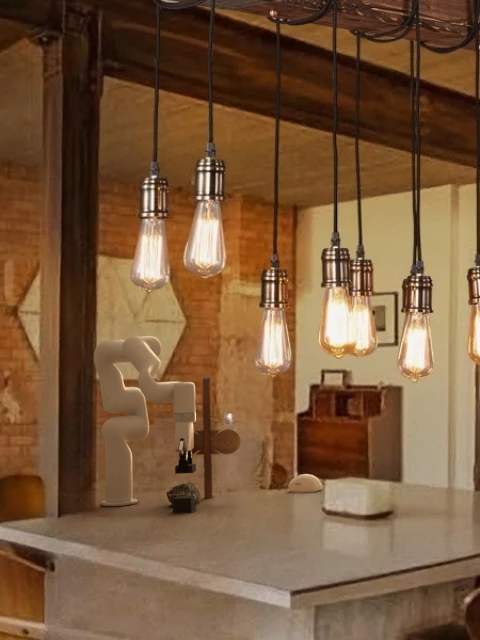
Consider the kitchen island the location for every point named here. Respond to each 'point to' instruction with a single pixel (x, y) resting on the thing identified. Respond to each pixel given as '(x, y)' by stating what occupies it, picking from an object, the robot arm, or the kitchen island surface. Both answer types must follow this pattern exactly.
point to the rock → (183, 491)
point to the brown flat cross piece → (212, 440)
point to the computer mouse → (305, 484)
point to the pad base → (184, 509)
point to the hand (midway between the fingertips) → (185, 470)
